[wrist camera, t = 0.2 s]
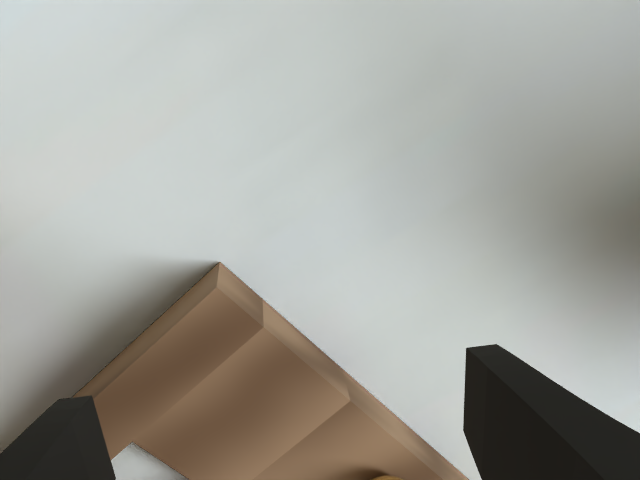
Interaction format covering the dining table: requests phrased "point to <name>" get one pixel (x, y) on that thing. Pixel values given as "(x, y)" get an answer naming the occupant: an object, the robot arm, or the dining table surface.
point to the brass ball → (387, 478)
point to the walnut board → (249, 398)
